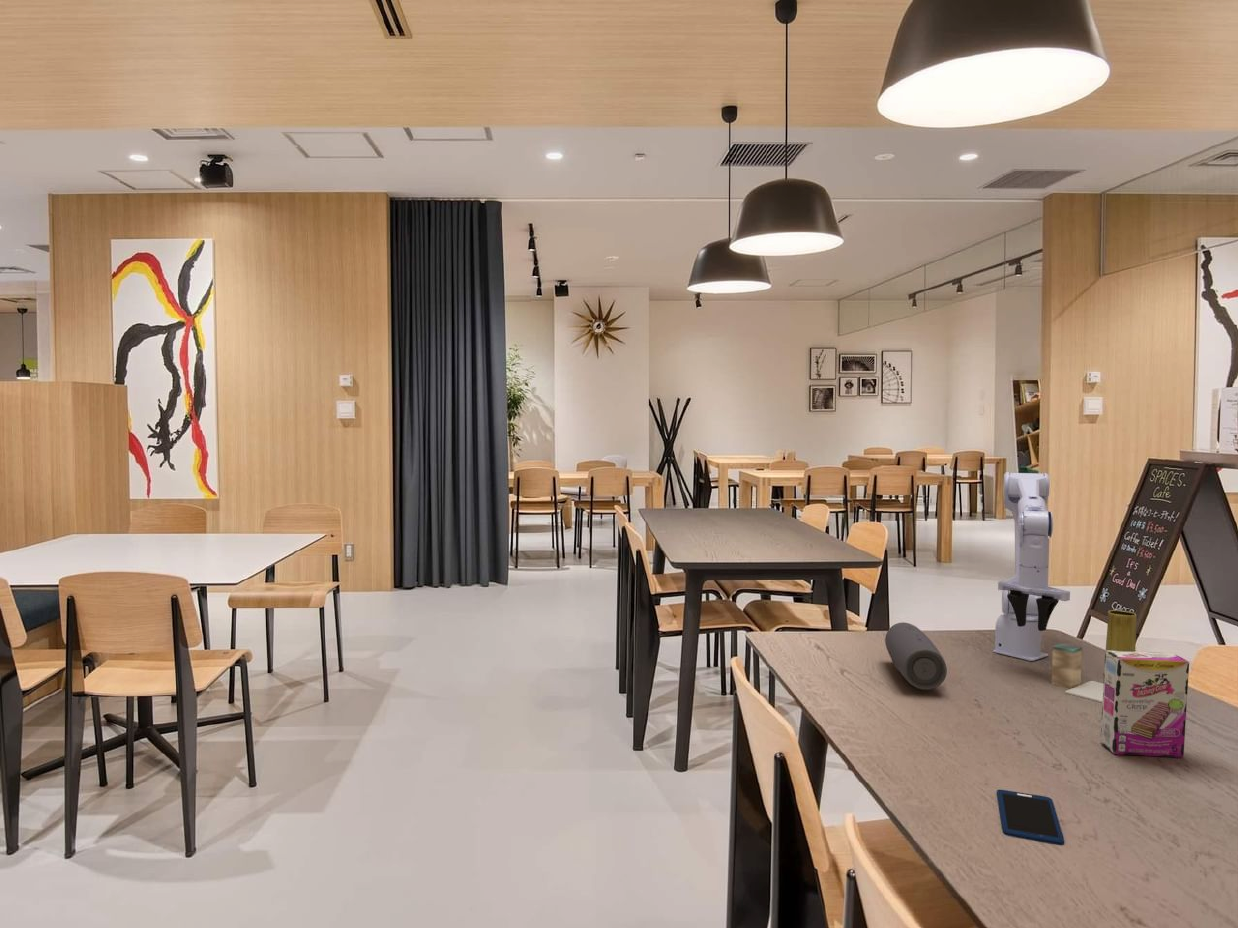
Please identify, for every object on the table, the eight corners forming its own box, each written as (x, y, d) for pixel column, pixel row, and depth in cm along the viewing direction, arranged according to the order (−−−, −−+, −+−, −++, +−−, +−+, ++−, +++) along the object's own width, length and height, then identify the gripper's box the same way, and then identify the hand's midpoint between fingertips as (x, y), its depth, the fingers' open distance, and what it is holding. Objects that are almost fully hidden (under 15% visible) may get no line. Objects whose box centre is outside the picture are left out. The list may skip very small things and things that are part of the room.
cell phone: (1051, 801, 116) (1051, 796, 116) (1065, 848, 103) (1065, 842, 103) (996, 792, 119) (996, 787, 119) (1002, 837, 106) (1002, 831, 106)
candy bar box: (1114, 755, 132) (1118, 657, 131) (1099, 743, 137) (1102, 649, 136) (1186, 759, 131) (1190, 660, 130) (1168, 746, 136) (1172, 651, 135)
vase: (1142, 682, 170) (1145, 616, 169) (1113, 682, 170) (1116, 615, 169) (1125, 673, 176) (1127, 609, 175) (1097, 673, 176) (1099, 609, 175)
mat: (1064, 692, 163) (1065, 691, 163) (1091, 681, 170) (1091, 680, 170) (1113, 705, 155) (1113, 703, 155) (1138, 693, 163) (1138, 691, 163)
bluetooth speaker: (949, 697, 160) (951, 648, 159) (901, 694, 161) (902, 645, 161) (924, 664, 182) (925, 620, 182) (882, 661, 183) (883, 618, 183)
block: (1051, 683, 169) (1052, 646, 168) (1060, 680, 171) (1062, 643, 171) (1071, 688, 165) (1072, 650, 165) (1080, 684, 168) (1081, 647, 167)
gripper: (991, 563, 177) (989, 623, 177) (1059, 573, 165) (1057, 637, 166) (1008, 559, 181) (1006, 619, 181) (1075, 569, 169) (1073, 632, 170)
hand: (1031, 627), depth 174 cm, fingers open, 4 cm apart
